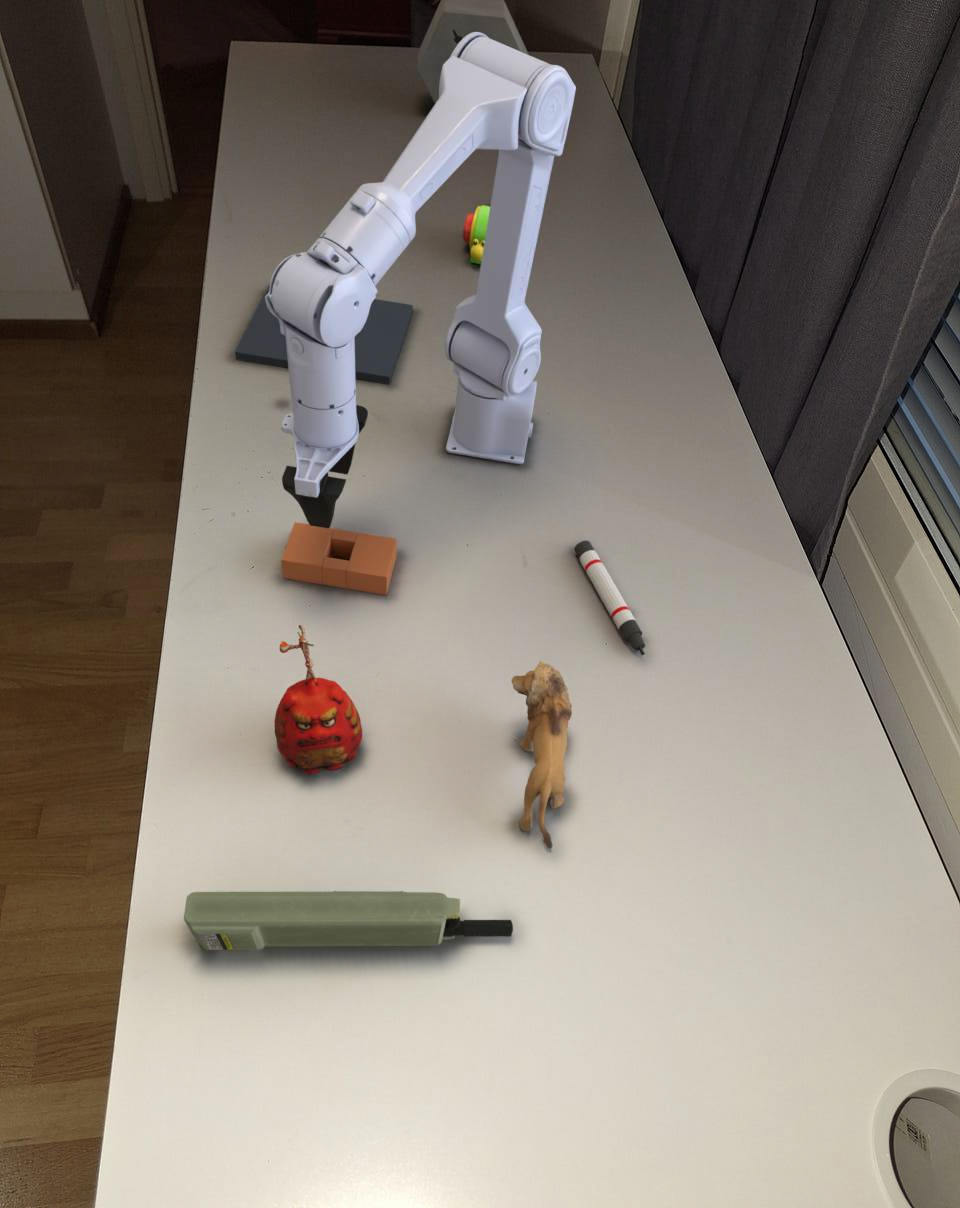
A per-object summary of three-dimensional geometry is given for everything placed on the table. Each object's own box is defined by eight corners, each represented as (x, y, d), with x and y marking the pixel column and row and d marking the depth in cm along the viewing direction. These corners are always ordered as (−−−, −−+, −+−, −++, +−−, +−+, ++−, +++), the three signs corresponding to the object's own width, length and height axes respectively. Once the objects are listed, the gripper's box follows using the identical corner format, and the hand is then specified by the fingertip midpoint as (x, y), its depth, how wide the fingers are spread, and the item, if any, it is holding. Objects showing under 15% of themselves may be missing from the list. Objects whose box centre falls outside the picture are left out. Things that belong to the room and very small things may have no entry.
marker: (572, 554, 100) (575, 542, 99) (588, 550, 101) (591, 538, 99) (633, 663, 92) (638, 652, 90) (650, 659, 92) (655, 647, 91)
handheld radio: (202, 911, 73) (509, 911, 75) (196, 953, 71) (511, 952, 73) (188, 884, 67) (519, 885, 70) (181, 929, 66) (521, 928, 68)
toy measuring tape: (453, 267, 133) (457, 225, 128) (484, 203, 145) (488, 162, 140) (495, 276, 132) (500, 234, 127) (523, 211, 144) (528, 171, 139)
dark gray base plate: (412, 312, 125) (413, 274, 120) (389, 384, 115) (390, 345, 111) (270, 289, 125) (266, 250, 121) (235, 359, 115) (229, 320, 111)
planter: (541, 83, 163) (488, -35, 148) (544, 102, 158) (489, -17, 144) (460, 129, 169) (401, 21, 155) (460, 149, 164) (399, 39, 150)
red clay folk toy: (284, 786, 80) (268, 697, 68) (272, 719, 84) (255, 624, 72) (368, 768, 82) (367, 678, 70) (353, 703, 86) (349, 608, 74)
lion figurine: (502, 707, 87) (513, 654, 80) (556, 705, 88) (571, 652, 81) (521, 852, 78) (535, 808, 71) (581, 849, 79) (600, 804, 72)
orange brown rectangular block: (396, 557, 98) (397, 538, 95) (386, 595, 94) (386, 577, 92) (296, 540, 98) (294, 521, 95) (283, 578, 94) (280, 559, 92)
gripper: (300, 333, 84) (309, 442, 95) (254, 435, 75) (269, 543, 86) (374, 345, 84) (374, 453, 95) (337, 449, 75) (342, 555, 86)
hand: (329, 496), depth 91 cm, fingers open, 7 cm apart
